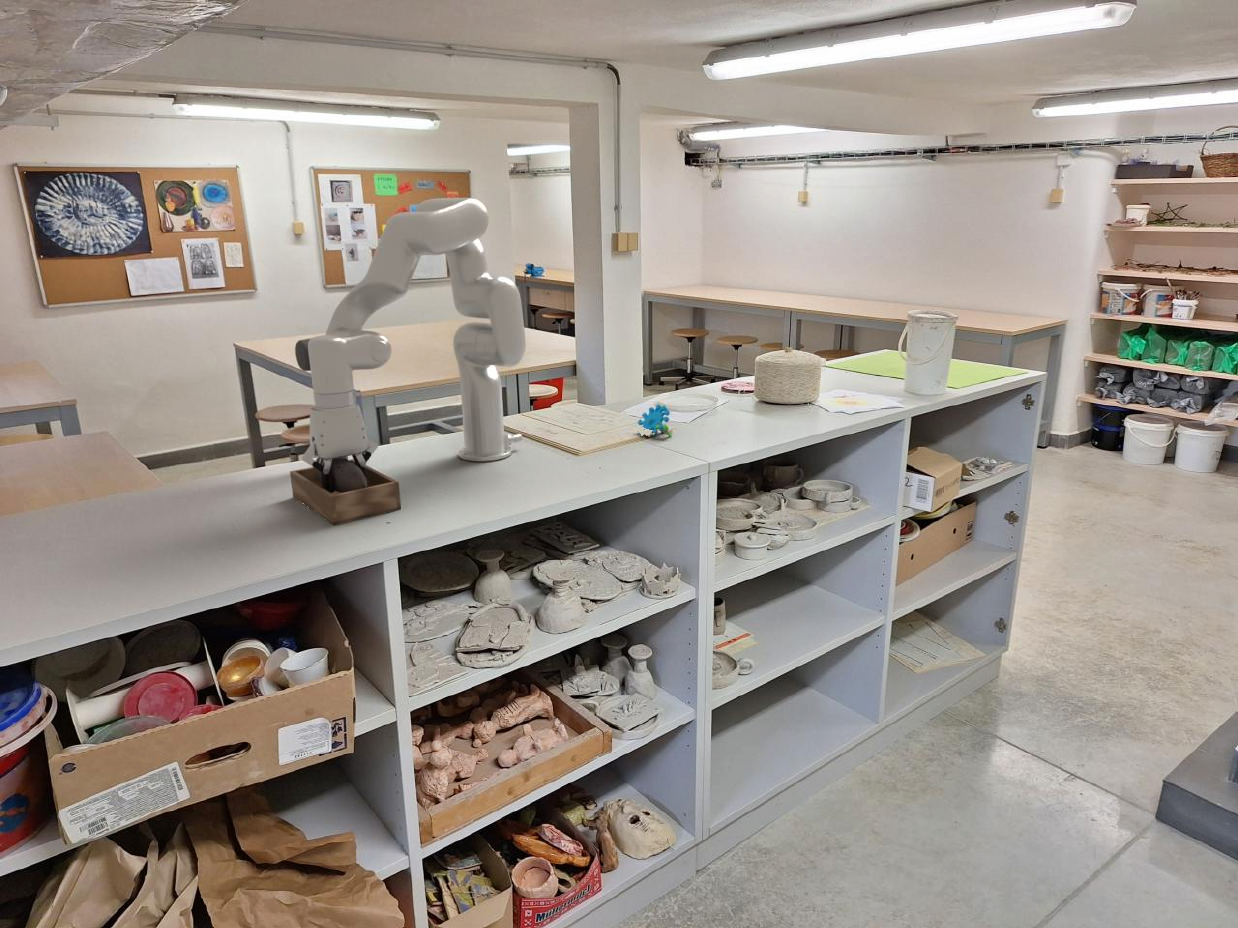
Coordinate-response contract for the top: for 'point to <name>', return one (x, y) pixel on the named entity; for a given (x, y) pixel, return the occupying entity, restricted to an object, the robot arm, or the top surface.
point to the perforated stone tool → (344, 475)
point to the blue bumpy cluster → (656, 420)
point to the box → (346, 496)
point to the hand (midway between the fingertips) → (344, 487)
